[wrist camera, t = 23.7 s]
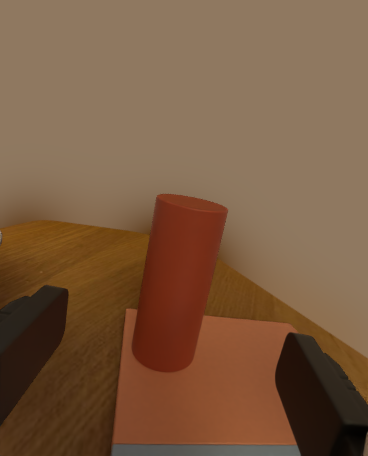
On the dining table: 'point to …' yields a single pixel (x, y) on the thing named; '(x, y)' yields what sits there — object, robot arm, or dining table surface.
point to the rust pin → (176, 280)
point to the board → (206, 396)
